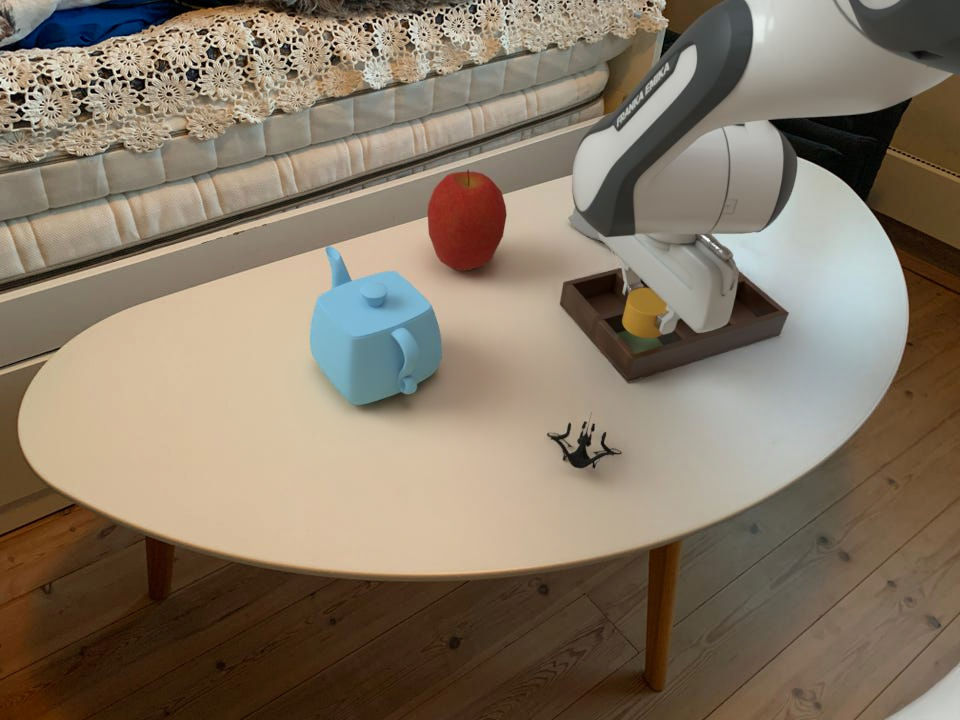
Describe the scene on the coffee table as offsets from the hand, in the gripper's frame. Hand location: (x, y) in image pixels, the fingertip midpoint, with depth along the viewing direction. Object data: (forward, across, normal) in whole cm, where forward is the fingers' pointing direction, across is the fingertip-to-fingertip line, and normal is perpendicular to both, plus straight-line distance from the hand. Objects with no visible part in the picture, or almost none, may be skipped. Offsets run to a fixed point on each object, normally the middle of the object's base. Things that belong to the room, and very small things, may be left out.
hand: (647, 312), depth 88 cm
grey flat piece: (+6, +23, -8) cm, 25 cm away
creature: (+6, -11, +14) cm, 19 cm away
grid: (+6, +4, -7) cm, 10 cm away
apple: (+6, +24, +12) cm, 27 cm away
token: (+2, 0, 0) cm, 2 cm away
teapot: (+6, +10, +30) cm, 32 cm away
